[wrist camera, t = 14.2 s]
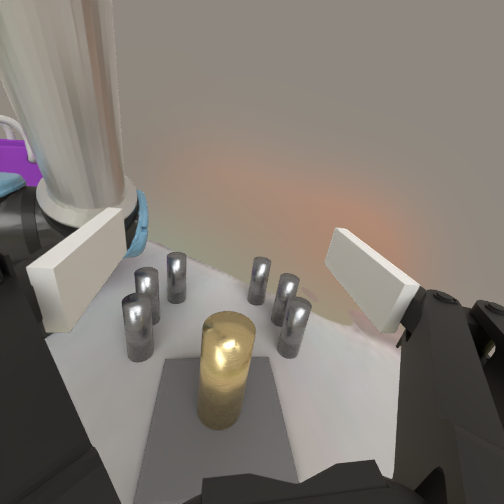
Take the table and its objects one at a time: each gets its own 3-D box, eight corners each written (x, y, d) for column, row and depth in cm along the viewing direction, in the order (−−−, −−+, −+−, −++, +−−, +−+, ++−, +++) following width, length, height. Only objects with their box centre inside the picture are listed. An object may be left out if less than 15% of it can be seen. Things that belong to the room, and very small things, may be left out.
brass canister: (187, 410, 30) (191, 330, 24) (216, 378, 34) (225, 305, 29) (222, 441, 27) (235, 358, 22) (249, 402, 32) (265, 326, 26)
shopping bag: (57, 215, 83) (35, 116, 70) (98, 232, 75) (82, 124, 62) (-71, 237, 59) (-138, 95, 47) (-31, 265, 52) (-98, 103, 39)
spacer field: (121, 362, 36) (113, 308, 31) (149, 292, 51) (147, 250, 47) (303, 358, 41) (318, 311, 37) (278, 296, 56) (287, 258, 52)
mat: (133, 509, 22) (133, 505, 22) (165, 362, 36) (165, 359, 36) (297, 488, 25) (299, 484, 25) (267, 360, 39) (268, 356, 39)
